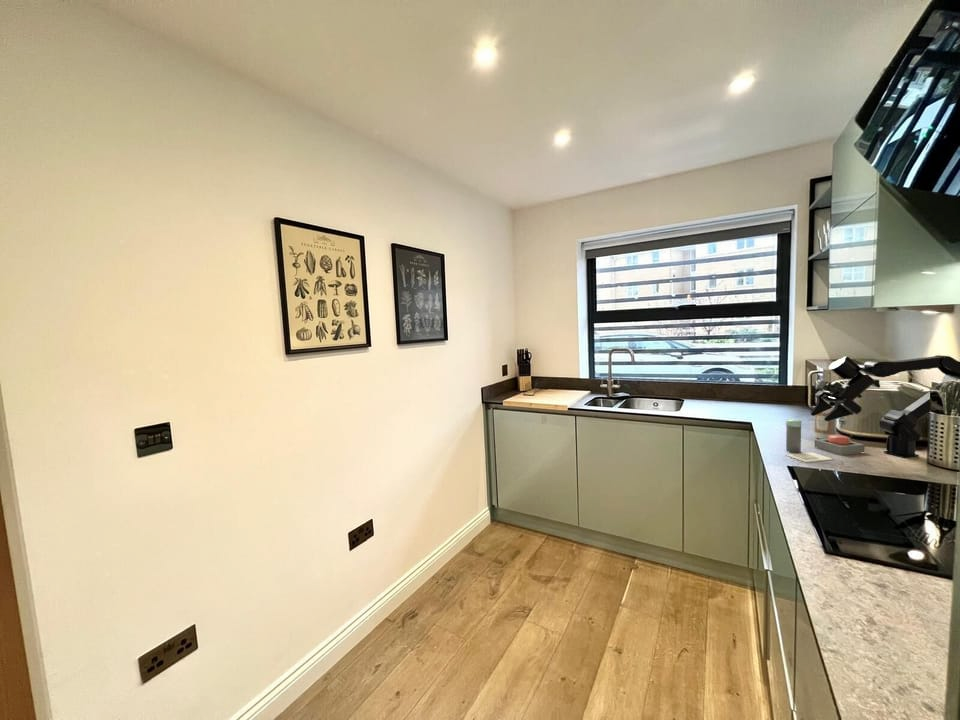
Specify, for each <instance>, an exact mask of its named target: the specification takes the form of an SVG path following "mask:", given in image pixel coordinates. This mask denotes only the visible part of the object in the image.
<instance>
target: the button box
mask: <svg viewBox="0 0 960 720" xmlns="http://www.w3.org/2000/svg"><path fill="white" fill-rule="evenodd" d="M815 447H817V448H816V449H819V450H822V449H823V451H825V452H829V453H832V452H833V454H837V455H840V456H843V455H854V453H856V454H862V453H861V452H864V453H865V444H863V443H859V442H854V441H851V440H850V445H841V446H840V445H837V444H833V443H829V442H828V439H814V448H815Z"/></svg>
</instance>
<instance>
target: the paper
mask: <svg viewBox="0 0 960 720" xmlns="http://www.w3.org/2000/svg"><path fill="white" fill-rule="evenodd" d="M786 455H787V456H786V457H788V456H789V457H788V458H791V457H792V459H794V458H795V459H794V460H797V459H798V461H801V462H804V463H814V462H815V463H816V462H823V461H824V462H825V461H833V460H834V458H831V457H827V456H824V455H821V454H819V453H815V452H812V451H811V452H803V453H790V454H786Z"/></svg>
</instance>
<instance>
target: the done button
mask: <svg viewBox="0 0 960 720" xmlns="http://www.w3.org/2000/svg"><path fill="white" fill-rule="evenodd" d="M850 438H851V437H850V436H847V435H843V434H842V435H841V434H840V435H839V434H836V435H829V438H828V442H829V443H833V444H837V445H840V446H841V445H850V441H851V439H850Z"/></svg>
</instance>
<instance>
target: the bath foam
mask: <svg viewBox="0 0 960 720" xmlns="http://www.w3.org/2000/svg"><path fill="white" fill-rule="evenodd" d="M824 391H825V392H829V391H826V390H824ZM832 407H833V408H830V409H828V410H826V411H824V412H822V413H819V414H817V415H814V416H813V417H814V423H813V424H814V425H813V426H814V427H813V430H814V431H813V436H814V438H815V437H816V438H815V439H817V438H819V439H828V438H829V435H837V419H833V420H830V421H825V420H824V418H825V417H826V416H827V415H828V414H829V413H830V412H831V411H832V410H833V409H834V407H835V405H834V406H832ZM819 439H818V440H819Z"/></svg>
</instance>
